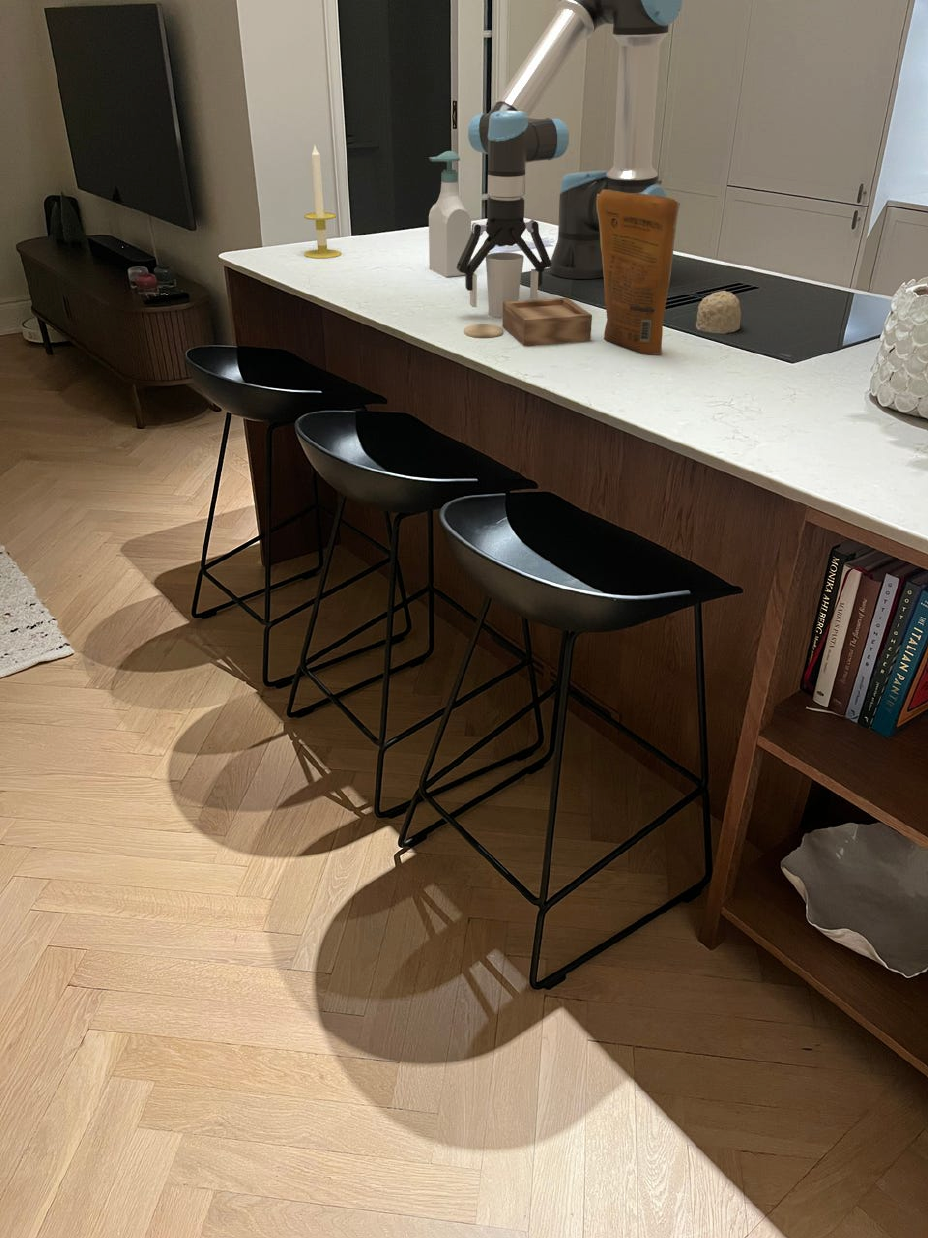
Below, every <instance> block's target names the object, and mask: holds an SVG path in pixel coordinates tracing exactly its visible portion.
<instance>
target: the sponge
mask: <svg viewBox="0 0 928 1238" xmlns="http://www.w3.org/2000/svg"><path fill="white" fill-rule="evenodd" d="M696 313H697V314H696V322H695V328H696V329H697V330H698V331H702V332H706V333H712V334H728V333H734V332H737V330H739V329H741V327H740V326H741V324H740V323H741V317H742V313H741V306H740V300H739V299H738V297H737V296H736V295H735V294H733V293H732V292H730V291H726V290H721V291H717V292H713V293H711V294H708V295H707V296H705V297H704V298H702V300H701V301H699V304H698V307H697V312H696Z"/></svg>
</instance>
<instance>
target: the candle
mask: <svg viewBox="0 0 928 1238" xmlns="http://www.w3.org/2000/svg"><path fill="white" fill-rule="evenodd" d="M321 165H322V164H321V153H320V152H319V151H318V148H317V145H316V143H315V142H314V145H313V150H312V153H311V167H312V179H313V180H312V181H313V191H314V192H313V193H314V205H315V207H314V208H315V212H311V213H305V214H304V215H303V218H304V219H306V220H312V221H315V227H316V228H315V230H316V242H317V244H316V245H317V249H312V250H308V251H306V252H304V254H303V256H304V257H306V258H310V259H317V260H318V259H319V260H320V259H321V260H322V259H323V260H324V259H333V258H334V259H335V258H338V257H340V256H342V252H341V251H340V250H335V249H331V248H330V249H328V241H327V227H326V226H327V225H326V220H332V219H335V218H336V217H337V214H336V213H332V212H325V211H324V210H325V209H324V208H325V207H324V206H325V205H324V195H323V183H322V182H323V181H322V179H323V178H322V167H321Z"/></svg>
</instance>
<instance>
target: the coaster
mask: <svg viewBox="0 0 928 1238" xmlns="http://www.w3.org/2000/svg"><path fill="white" fill-rule="evenodd" d="M463 334H464V335H466V336H468V337H471V338H475V339H477V338H479V339H491V338H497V337H499V336H501V335H503V334H504V328H503V327H502V326H499V325H497V324H491V323H476V324H469V325H466V326H465V327H464V328H463Z"/></svg>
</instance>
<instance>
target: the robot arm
mask: <svg viewBox="0 0 928 1238" xmlns="http://www.w3.org/2000/svg"><path fill="white" fill-rule="evenodd" d="M682 6H683V0H559V1H558V2H557V3H556V6H555V8H554V9H555V10H554V12H555V13H554V14H555V15H554V16H553V18H552V20H551V21H550V23H549V24H548V26H547V27H546V29H545V30H544V31H543V33H542V34H541V36H540V37H539V39H537V41H536V43H535V45H534V46H533V48H532V49H531V50H530V52H529V54H528V55H527V56H526V58H525V59H524V61H523V62H522V64H521V65H520V66H519V68H518V70H516V72H515V74H514V76H513V77H512V78H511V80H510V81H509V83H508V85H507V86H506V87H505V89H504V90H503V92H502V93H501V95H500V96H499V98H498V99H497V101H496V102H495V104H494V105H493V106H492V108H491V109H490V111H488V113H487V112H483V113H478V114H477V115H475V116H473V117H472V119H470V122H469V124H468V127H467V128H468V129H467V138H468V141H469V144H470V146H471V148H472V149H473V150H474V151H476V152H478V153H483V154H485V155H488V156H487V157H488V158H487V160H488V162H487V163H488V169H487V195H488V196H489V197H488V199H487V205H486V206H487V213H486V214H487V216H486V223H485V224H479V223H477V222H473V223H471V236H470V238H469V240H468V242H467V244H466V247H465V249H464V251H463V253H462V256H461V258H460V260H459V262H458V264H457V269H458V270H459V271H460V272H461V273H465V275H464V276H465V279H464V280H465V283H464V285H465V290H466V291H469V306H471V308H477V302H478V301H477V297H478V296H477V295H478V292H477V289H478V287H477V286H478V285H477V284H478V282H477V281H478V279H477V277H478V276H477V274H476V273H475V272H476V271H477V269H478V268H479V267H480V265H481V264H482V262H484V261H485V260H486V256H487V255H488V254H490V252H491V251H492V250H493V249H494V248H495V247H496V246H498V247H505V246H509V247H513V246H515V244H516V245H517V246H518V247H519V249H520V250H521V251H522V253H523V254H524V255H525V256H526V258H527V259H528V261H529V262H530V263H531V264H532V266H533V267H534V268H531V269H530V282H529V283H530V285H529V287H530V288H529V289H530V290H529V300H538V293H539V292H538V289H539V287H542V284H543V272H544V271H545V269H546V268H548V272H549V273H550V275H552V276H555V277H559V278H564V279H576V280H589V279H592V280H593V279H600V278H604V273H603V262H602V251H601V242H600V228H599V219H598V213H597V206H596V200H597V194H599V195H600V193H601V191H602V190H612V191H619V192H624V193H640V194H649V195H656V196H662V197H667V194H666V190H665V189H664V188H663V187H662V186H661V185H660V184H658V178H659V177H658V176H659V174H658V172H657V171H656V169H655V168H654V167H653V165H652V163H653V152H654V151H653V150H654V136H655V124H656V123H655V122H656V107H657V93H658V80H659V79H658V78H659V65H660V48H661V43H662V41H663V40H665V38H666V37H667V35H669V28H670V27H669V26H670V25H671V24H673V23H674V22H675V21H676V20H677V18H678V17H679V12H680V11H681V9H682ZM604 25H612V36H613V38H614V39H615V41H616V42H618V43H617V44H618V45H619V46H618V47H619V48H618V63H617V64H618V68H617V84H616V85H617V88H616V89H617V90H616V104H615V105H616V107H615V126H614V127H615V128H614V129H615V130H614V148H613V150H614V152H613V165H612V167H611V168H610V170H604V169H603V170H591V171H588V170H587V171H581V172H580V171H578V172H573V173H572V172H571V173H567V174H565V175H563V177H562V178H561V182H560V183H561V184H560V190H559V193H558V195H559V202H558V203H559V205H558V208H559V209H558V226H557V227H558V228H557V229H558V230H557V231H558V232H557V233H558V234H557V241H556V244H555V246H554V249H553V252H552V254H551V258H550V256H549V254H548V251H547V249H546V247H545V244H544V242H543V240H542V237H541V234H540V228H539V225H540V224H539V223H538V221H536V220H534V219H530V220H529V221H527V222H525V220H524V217H525V199H524V198H523V197H524V195H526V194H525V192H526V169H527V168H526V165H527V164H528V163H530V162H531V163H532V162H533V163H534V162H539V161H540V162H541V161H551V160H554V159H558V158H560V157H562V156H563V155H564V154H565V153H566V152H567V150H568V147H569V144H570V133H569V129H568V127H567V124H566V123H565V122H564V121H563V120H561V119H559V118H550V117H546V118H532V115H533V114H534V112H535V110H536V109H537V108H538V106H539V105H540V103H541V101H542V100H543V99H544V97H545V96H546V94H547V93H548V91H549V90H550V88H551V87H552V85H553V84H554V83H555V81H556V79H558V78H559V77H558V76H559V75H560V73H562V71H563V69H564V67H566V65H567V63H568V62H569V61H570V59H571V57H573V55H574V53H575V52H576V50H577V49H578V47H579V46H580V45H581V43H582V42H583V41H584V40H588V39H590V38H591V37H592V35H593V34H594V33H595V31H596V30H597V29H598V28H600V27H601V26H604ZM526 163H527V164H526ZM526 230H527V233H529V234H530V237H531V239H532V241H533V243H534V246H535V248H536V250H537V253H538V255H539V258H540V260H541V261H540V260H539V258H538V257H537V256H536V254H534V252H533V251H532V250H531V248H530V247H529V246H528V244H527V242H526V241H525V240H524V238H522V236H523V234H524V232H525V231H526ZM484 232H486V234H487V235H488V236H487V237H486V238H485V240H484V242H483V243H482V245H481V247H480V248H479V250H477V252H476V254H475V255H474V256H473V254H474V251H475V249H476V247H477V244H478V243H479V240H480V238H481V236H483V234H484ZM472 256H473V258H472ZM470 258H471V261H470ZM469 261H470V263H469ZM468 263H469V264H468Z"/></svg>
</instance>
